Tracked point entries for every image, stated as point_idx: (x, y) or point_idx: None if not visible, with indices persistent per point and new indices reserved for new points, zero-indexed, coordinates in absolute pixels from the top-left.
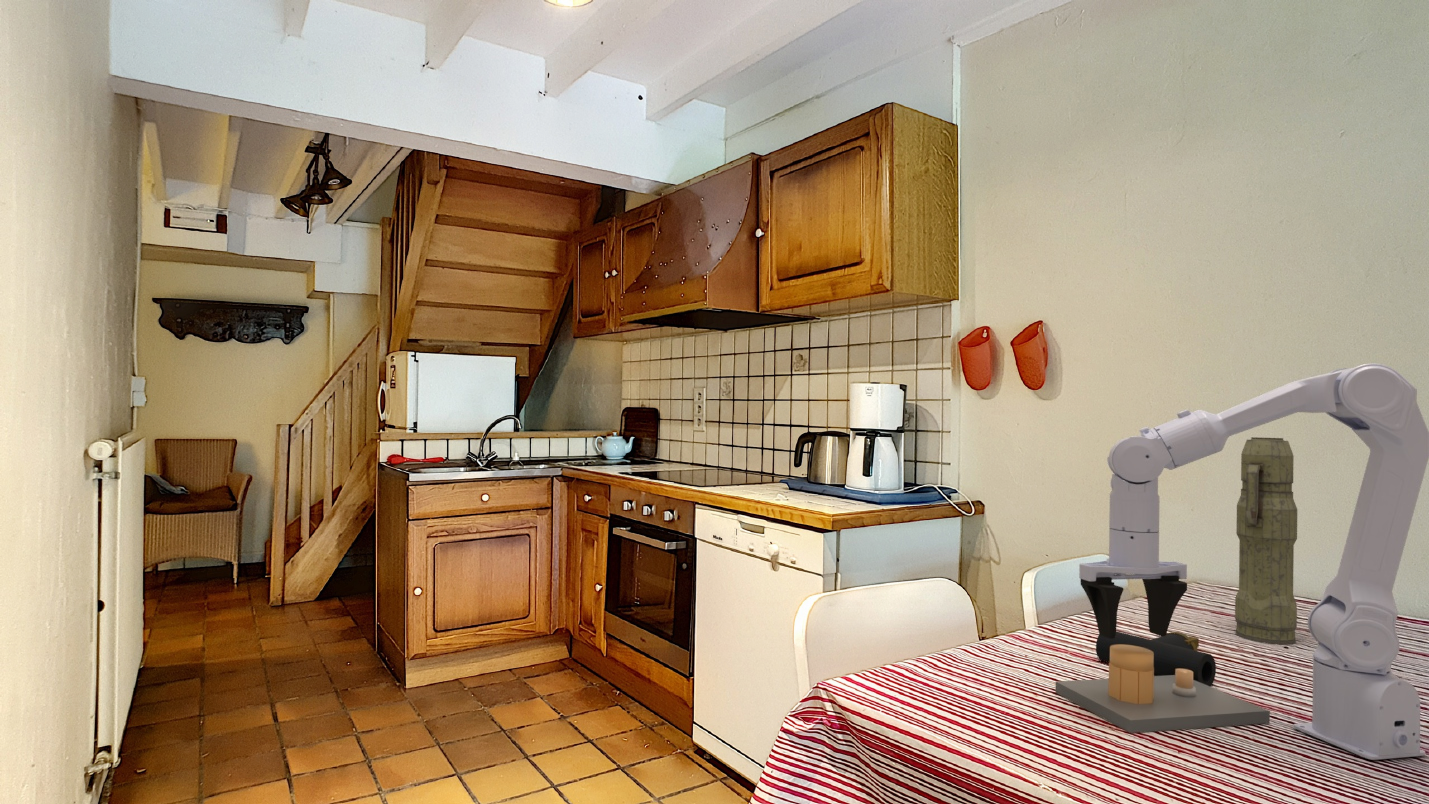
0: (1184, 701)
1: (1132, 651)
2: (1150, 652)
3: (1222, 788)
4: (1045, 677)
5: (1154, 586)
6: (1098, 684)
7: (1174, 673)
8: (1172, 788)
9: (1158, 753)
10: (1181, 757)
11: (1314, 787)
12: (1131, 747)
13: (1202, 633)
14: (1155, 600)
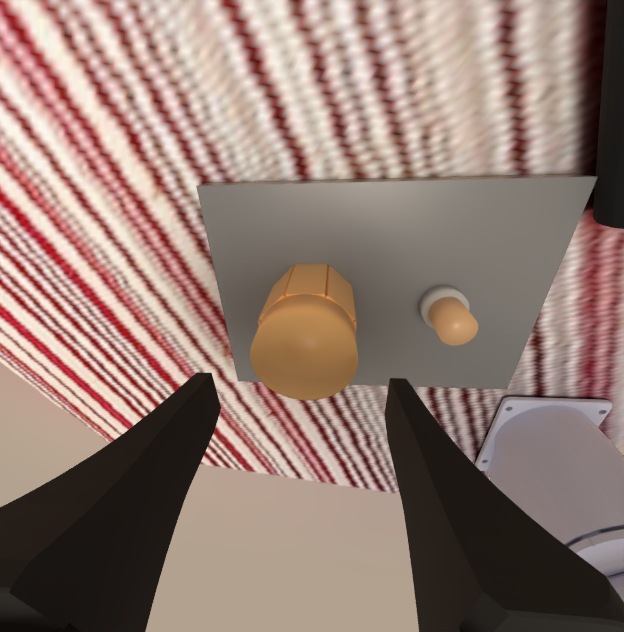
0: (398, 336)
1: (296, 370)
2: (339, 384)
3: (253, 467)
4: (236, 38)
5: (441, 599)
6: (293, 223)
7: (600, 155)
8: (206, 460)
9: (241, 413)
10: (262, 423)
11: (344, 480)
12: (218, 397)
13: None
14: (420, 510)
